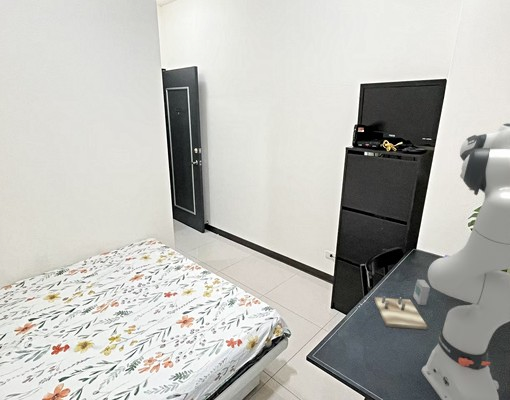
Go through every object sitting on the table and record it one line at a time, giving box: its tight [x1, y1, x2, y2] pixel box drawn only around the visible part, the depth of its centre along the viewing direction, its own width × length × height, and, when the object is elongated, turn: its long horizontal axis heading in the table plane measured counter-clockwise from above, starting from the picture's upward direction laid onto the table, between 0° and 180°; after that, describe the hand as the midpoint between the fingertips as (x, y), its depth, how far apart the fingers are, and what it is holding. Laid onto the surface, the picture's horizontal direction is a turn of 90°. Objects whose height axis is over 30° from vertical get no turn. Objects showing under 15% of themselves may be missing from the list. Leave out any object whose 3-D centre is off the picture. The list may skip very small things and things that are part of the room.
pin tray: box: [373, 295, 428, 330], centre depth 119 cm, size 16×15×4 cm
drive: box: [412, 279, 431, 306], centre depth 126 cm, size 6×3×9 cm, turn 174°
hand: (484, 193), depth 120 cm, fingers open, 8 cm apart
